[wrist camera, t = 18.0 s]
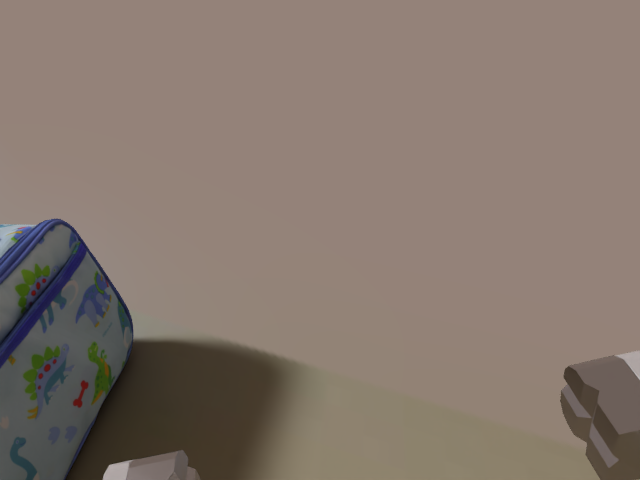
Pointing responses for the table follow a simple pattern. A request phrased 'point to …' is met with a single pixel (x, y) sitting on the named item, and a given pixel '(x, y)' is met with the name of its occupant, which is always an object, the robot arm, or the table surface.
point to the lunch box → (54, 347)
